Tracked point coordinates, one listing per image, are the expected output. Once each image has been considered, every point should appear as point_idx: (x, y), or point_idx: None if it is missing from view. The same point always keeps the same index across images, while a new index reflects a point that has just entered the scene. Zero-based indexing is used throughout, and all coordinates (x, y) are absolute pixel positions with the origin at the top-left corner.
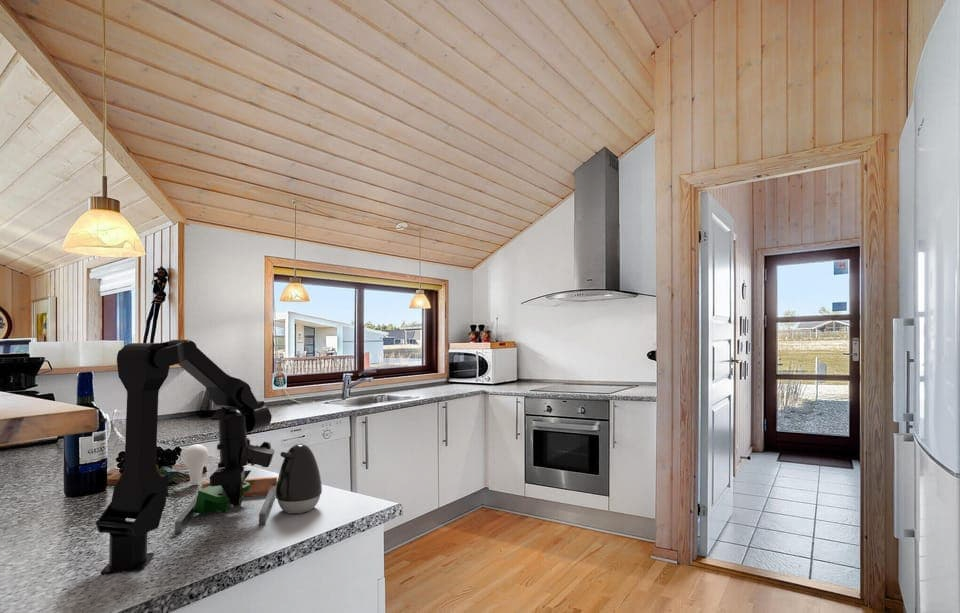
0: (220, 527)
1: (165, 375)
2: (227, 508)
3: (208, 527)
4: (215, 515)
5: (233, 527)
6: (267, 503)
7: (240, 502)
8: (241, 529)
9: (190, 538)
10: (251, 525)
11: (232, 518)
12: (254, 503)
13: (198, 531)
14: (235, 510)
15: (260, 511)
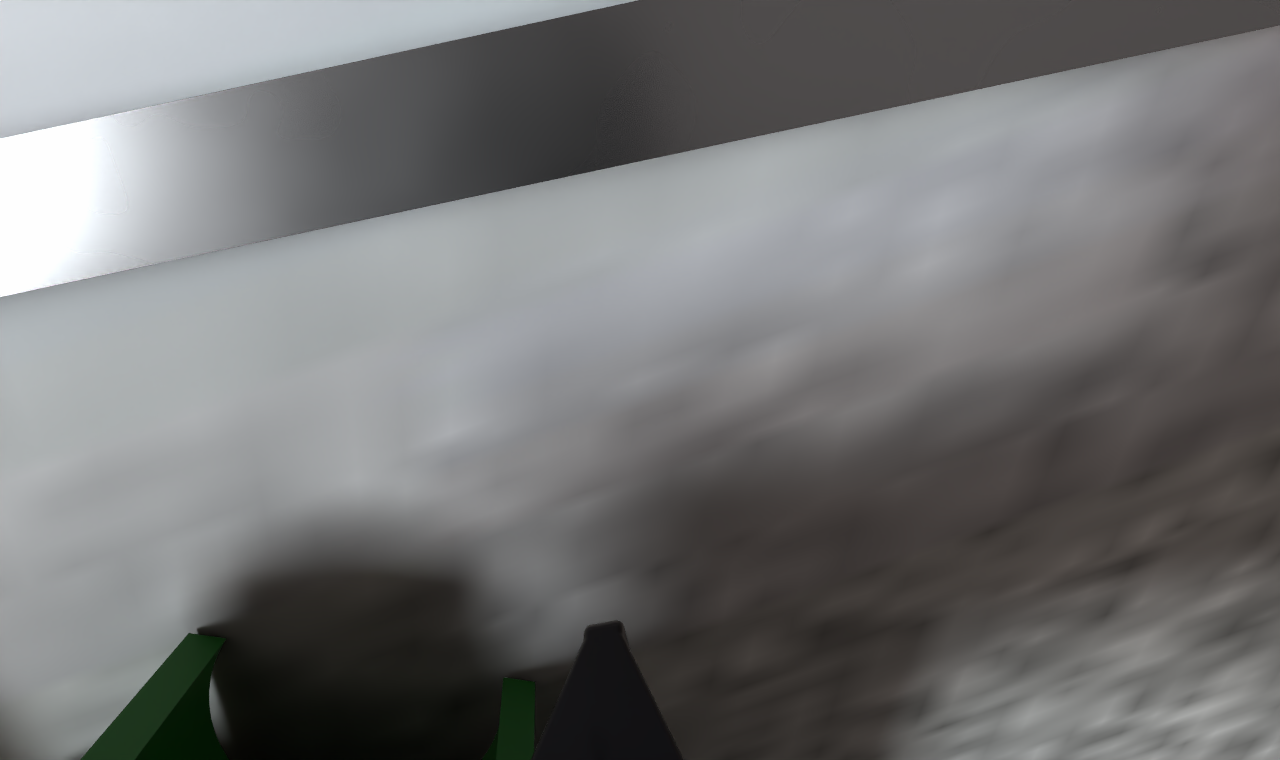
0: (1027, 547)
1: None
2: (505, 722)
3: (980, 660)
4: None
5: (1090, 398)
6: (607, 53)
7: (187, 675)
8: (1226, 257)
9: (1257, 681)
10: (1105, 161)
11: (713, 541)
12: (16, 499)
13: (1074, 696)
14: (384, 623)
15: (1238, 24)
